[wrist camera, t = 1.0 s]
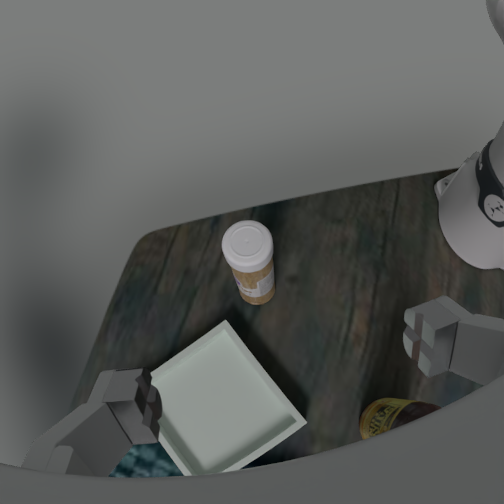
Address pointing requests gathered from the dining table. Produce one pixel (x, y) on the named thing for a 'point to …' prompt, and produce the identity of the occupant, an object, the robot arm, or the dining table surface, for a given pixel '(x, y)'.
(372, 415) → the sauce bottle
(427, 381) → the dining table surface
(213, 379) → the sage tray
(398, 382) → the dining table surface
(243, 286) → the sprinkles bottle
